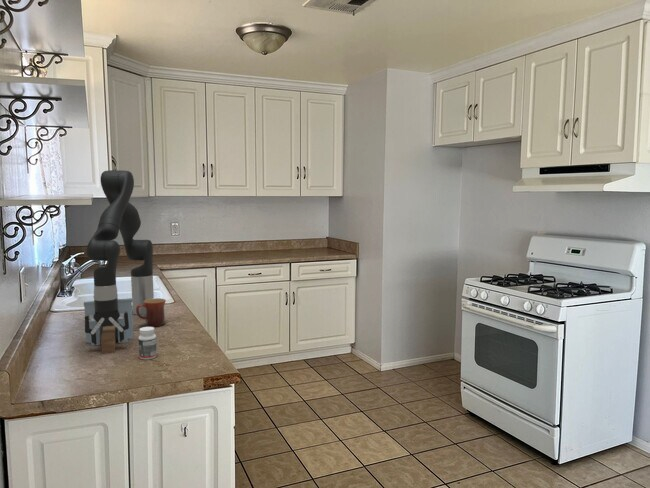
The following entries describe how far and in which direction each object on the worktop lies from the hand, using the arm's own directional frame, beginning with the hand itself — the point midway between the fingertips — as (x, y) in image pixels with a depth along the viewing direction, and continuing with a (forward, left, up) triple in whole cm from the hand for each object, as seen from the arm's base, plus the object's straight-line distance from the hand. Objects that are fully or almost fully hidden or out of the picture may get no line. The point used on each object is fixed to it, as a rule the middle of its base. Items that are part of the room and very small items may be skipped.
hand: (108, 342), depth 175 cm
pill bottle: (+13, +13, -3) cm, 18 cm away
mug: (-26, +15, -3) cm, 30 cm away
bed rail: (-3, 0, -3) cm, 4 cm away
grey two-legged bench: (-9, 0, -3) cm, 10 cm away
